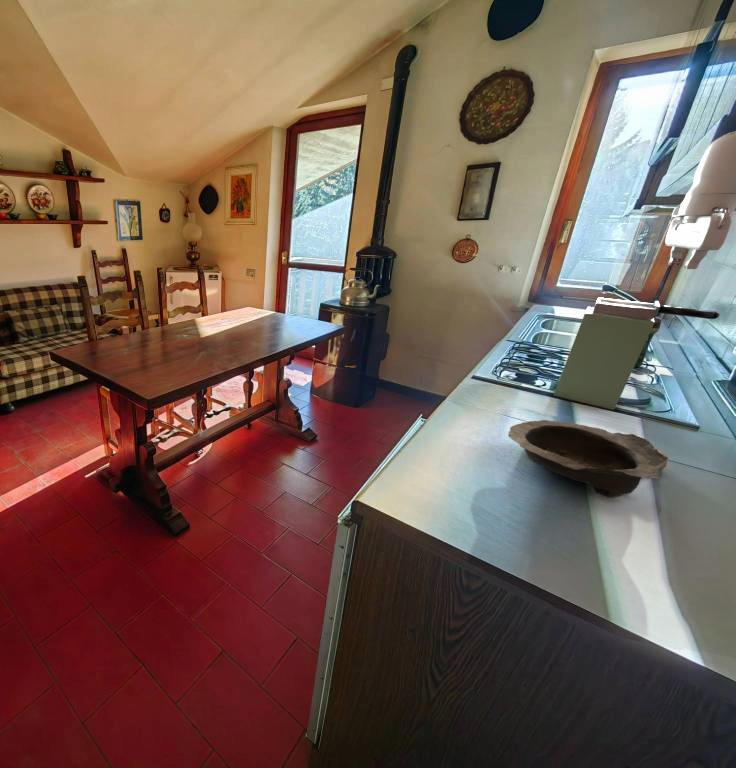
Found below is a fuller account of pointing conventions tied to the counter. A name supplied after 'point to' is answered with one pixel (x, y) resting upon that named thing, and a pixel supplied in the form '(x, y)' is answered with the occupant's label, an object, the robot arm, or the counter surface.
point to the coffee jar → (648, 341)
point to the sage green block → (602, 358)
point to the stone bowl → (590, 454)
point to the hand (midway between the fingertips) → (681, 267)
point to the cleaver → (646, 309)
